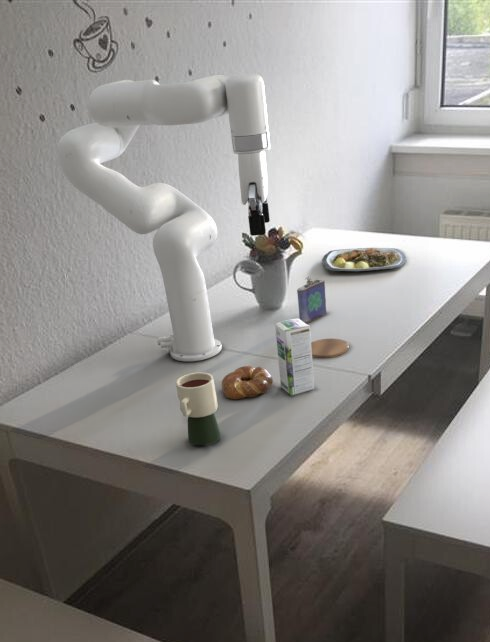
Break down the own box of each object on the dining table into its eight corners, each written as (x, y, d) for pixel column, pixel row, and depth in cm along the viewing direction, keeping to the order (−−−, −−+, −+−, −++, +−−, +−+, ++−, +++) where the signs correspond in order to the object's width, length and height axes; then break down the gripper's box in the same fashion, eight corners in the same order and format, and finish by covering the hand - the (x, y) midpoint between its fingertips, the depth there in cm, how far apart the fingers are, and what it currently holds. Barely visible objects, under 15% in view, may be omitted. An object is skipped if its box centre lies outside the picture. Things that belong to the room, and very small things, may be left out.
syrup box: (279, 386, 170) (272, 323, 162) (304, 379, 171) (298, 316, 164) (290, 396, 165) (284, 331, 158) (316, 389, 167) (310, 324, 159)
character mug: (202, 425, 158) (191, 366, 151) (233, 429, 155) (224, 369, 148) (175, 452, 150) (163, 391, 143) (208, 457, 147) (197, 394, 140)
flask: (304, 324, 199) (301, 283, 194) (296, 322, 201) (292, 282, 196) (329, 313, 204) (326, 273, 199) (320, 311, 206) (317, 271, 201)
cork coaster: (305, 359, 181) (304, 356, 180) (306, 342, 189) (306, 340, 189) (348, 356, 180) (348, 353, 179) (348, 339, 188) (348, 337, 188)
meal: (407, 273, 226) (407, 264, 225) (319, 278, 230) (319, 269, 228) (404, 248, 247) (404, 239, 246) (324, 252, 251) (323, 244, 249)
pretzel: (245, 406, 163) (243, 390, 162) (210, 394, 170) (207, 378, 168) (284, 384, 170) (282, 368, 169) (248, 373, 177) (246, 358, 175)
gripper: (237, 137, 166) (247, 219, 175) (227, 152, 151) (238, 241, 160) (272, 134, 165) (280, 216, 174) (265, 148, 150) (274, 238, 159)
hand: (260, 228), depth 167 cm, fingers open, 9 cm apart
